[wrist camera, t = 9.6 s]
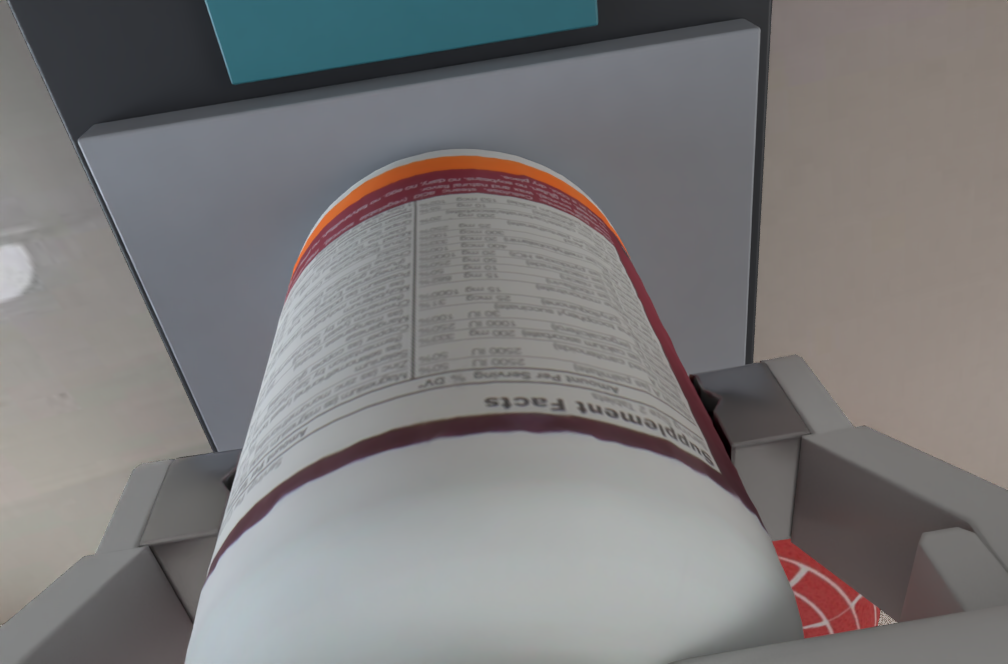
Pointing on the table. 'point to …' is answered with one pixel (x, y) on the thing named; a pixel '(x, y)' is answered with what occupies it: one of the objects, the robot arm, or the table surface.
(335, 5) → the scale
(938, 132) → the table surface
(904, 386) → the table surface
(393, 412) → the pill bottle
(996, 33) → the table surface
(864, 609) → the torus
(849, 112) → the table surface
